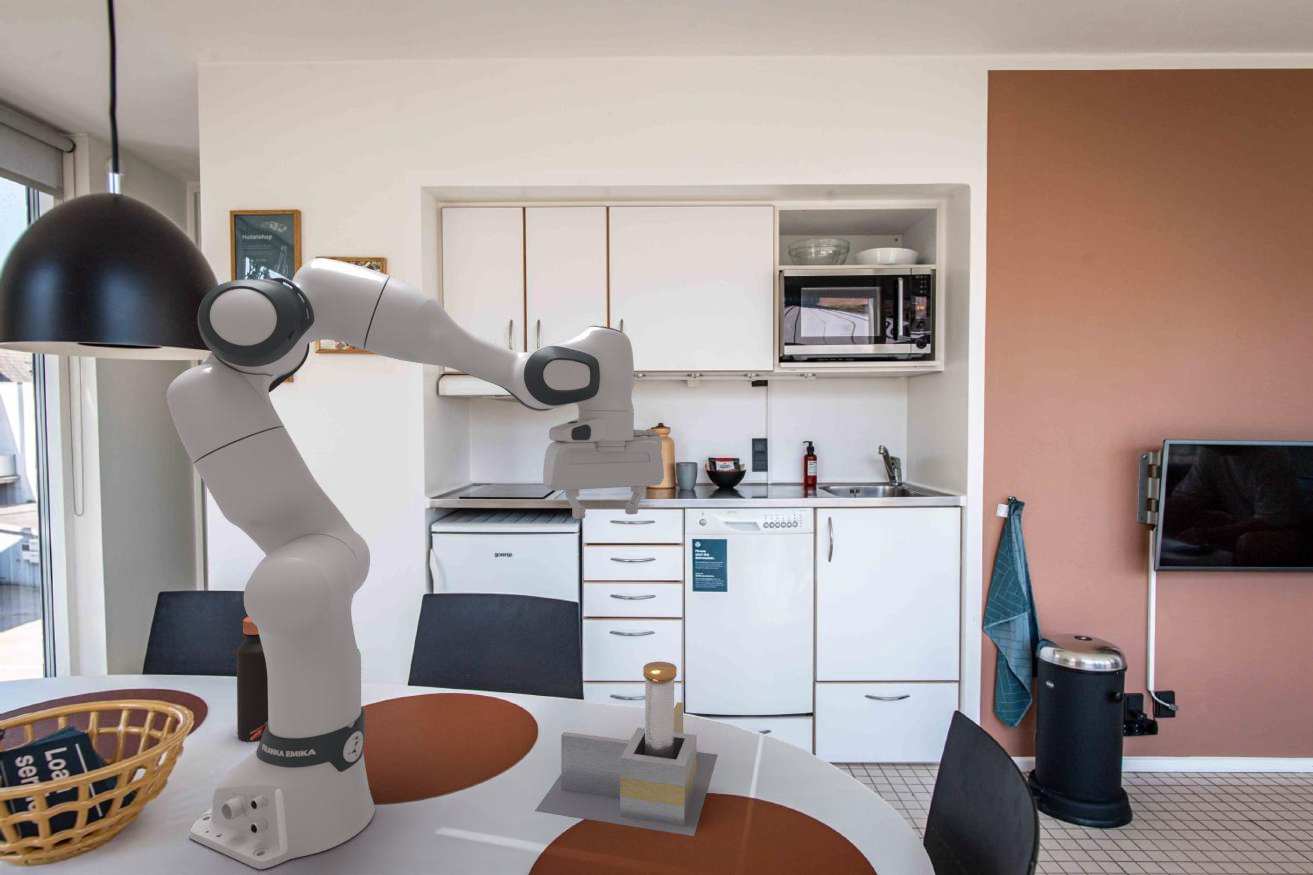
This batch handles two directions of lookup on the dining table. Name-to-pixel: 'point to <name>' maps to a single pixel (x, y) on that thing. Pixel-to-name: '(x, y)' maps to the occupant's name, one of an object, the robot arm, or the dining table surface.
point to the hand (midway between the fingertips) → (605, 516)
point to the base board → (610, 807)
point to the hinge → (633, 773)
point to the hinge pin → (659, 709)
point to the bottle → (251, 684)
